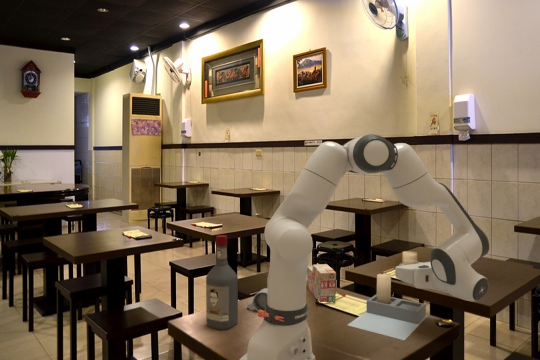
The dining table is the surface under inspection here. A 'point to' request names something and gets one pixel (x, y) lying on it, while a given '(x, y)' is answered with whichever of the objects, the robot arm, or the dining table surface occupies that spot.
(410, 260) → the beech post
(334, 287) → the stack of blocks
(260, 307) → the ceramic mug
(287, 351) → the robot arm
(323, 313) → the dining table surface
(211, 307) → the liquor
